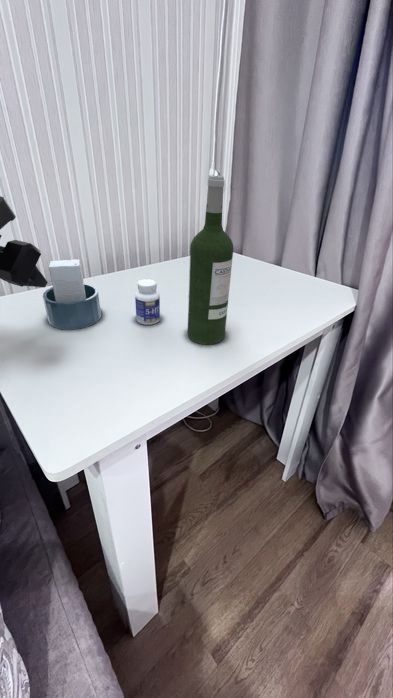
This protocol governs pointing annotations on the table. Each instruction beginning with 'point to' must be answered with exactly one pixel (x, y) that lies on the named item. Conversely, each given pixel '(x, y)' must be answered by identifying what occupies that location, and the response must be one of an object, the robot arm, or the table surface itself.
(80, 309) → the bowl
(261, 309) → the table surface
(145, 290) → the pill bottle
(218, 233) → the wine bottle
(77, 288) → the cosmetic box
